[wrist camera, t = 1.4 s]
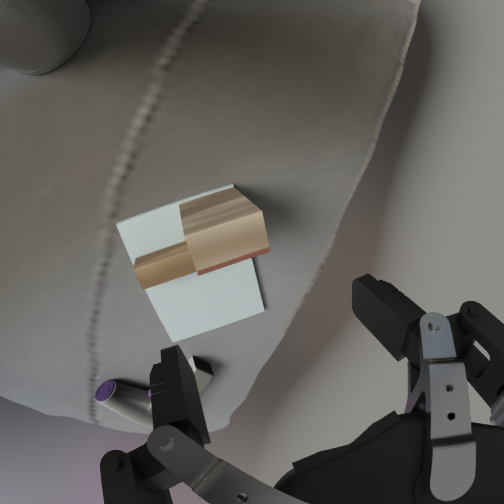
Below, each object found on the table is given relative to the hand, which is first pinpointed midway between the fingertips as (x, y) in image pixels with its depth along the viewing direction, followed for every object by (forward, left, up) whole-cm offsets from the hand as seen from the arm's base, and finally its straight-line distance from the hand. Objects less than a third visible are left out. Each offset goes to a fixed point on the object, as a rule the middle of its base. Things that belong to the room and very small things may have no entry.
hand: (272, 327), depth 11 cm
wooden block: (0, 0, -17) cm, 17 cm away
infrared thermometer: (+20, -15, -19) cm, 32 cm away
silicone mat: (+6, -3, -18) cm, 19 cm away
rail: (+3, -5, -18) cm, 19 cm away
